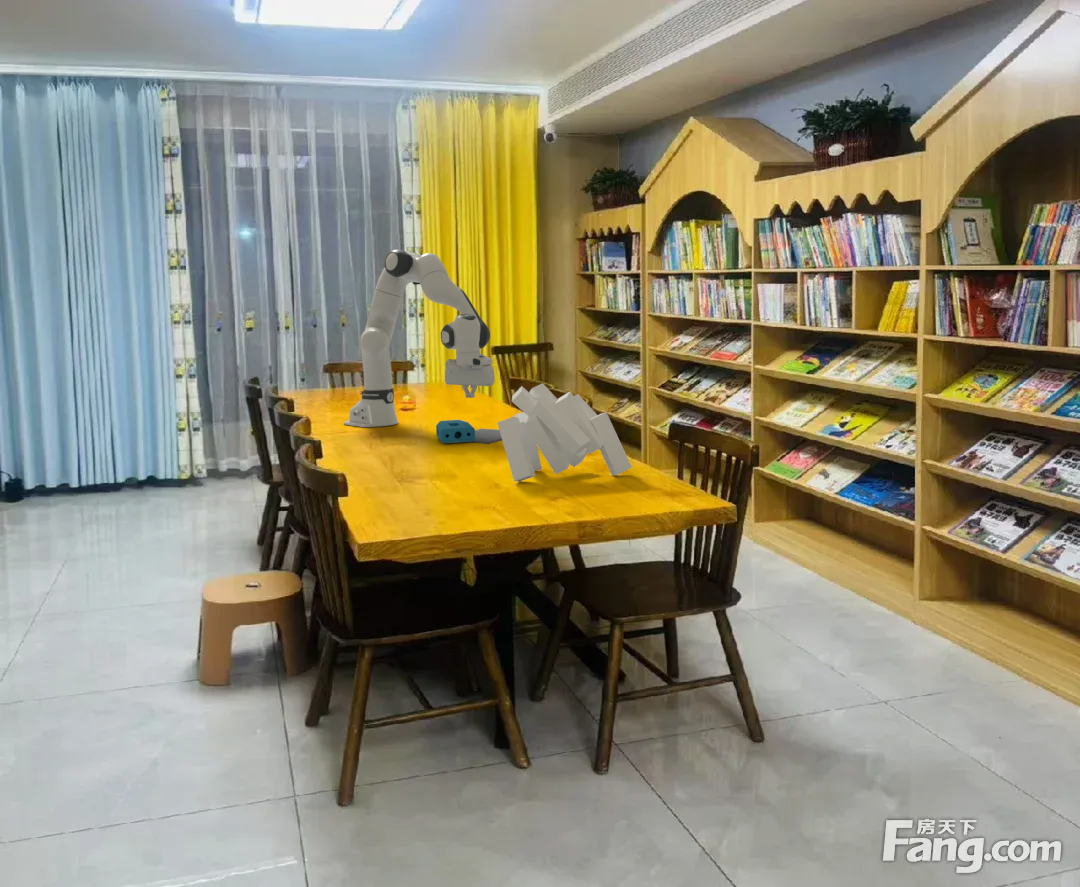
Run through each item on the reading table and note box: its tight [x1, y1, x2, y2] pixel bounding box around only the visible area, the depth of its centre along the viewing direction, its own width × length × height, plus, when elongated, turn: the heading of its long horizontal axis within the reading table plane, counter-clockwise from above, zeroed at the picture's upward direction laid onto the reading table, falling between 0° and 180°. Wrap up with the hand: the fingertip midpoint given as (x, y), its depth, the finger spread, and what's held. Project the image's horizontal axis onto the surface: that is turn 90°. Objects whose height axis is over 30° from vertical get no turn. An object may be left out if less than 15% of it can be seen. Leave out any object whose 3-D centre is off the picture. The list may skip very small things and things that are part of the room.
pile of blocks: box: [497, 383, 633, 482], centre depth 304 cm, size 35×30×35 cm
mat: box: [469, 428, 502, 445], centre depth 379 cm, size 20×24×1 cm
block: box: [435, 419, 476, 444], centre depth 374 cm, size 12×5×20 cm
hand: (470, 397), depth 380 cm, fingers closed
